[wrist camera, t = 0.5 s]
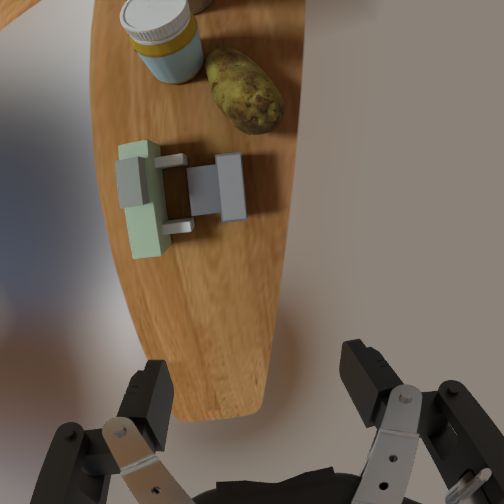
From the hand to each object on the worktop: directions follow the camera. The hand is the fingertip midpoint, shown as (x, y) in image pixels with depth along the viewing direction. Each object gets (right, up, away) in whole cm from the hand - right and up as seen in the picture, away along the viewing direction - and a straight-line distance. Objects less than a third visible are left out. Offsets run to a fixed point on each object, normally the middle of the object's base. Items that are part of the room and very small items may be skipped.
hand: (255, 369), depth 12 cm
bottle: (-10, +30, +18) cm, 37 cm away
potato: (-2, +25, +20) cm, 32 cm away
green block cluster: (-11, +13, +23) cm, 28 cm away
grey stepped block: (-4, +13, +23) cm, 27 cm away
